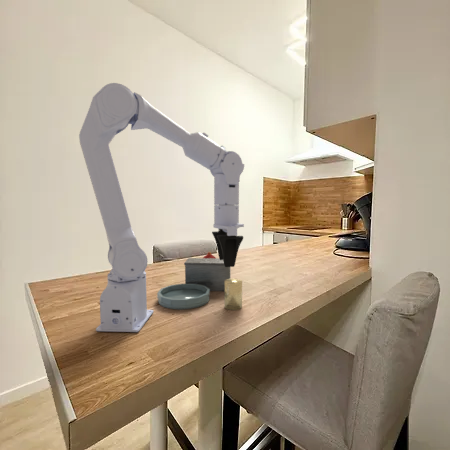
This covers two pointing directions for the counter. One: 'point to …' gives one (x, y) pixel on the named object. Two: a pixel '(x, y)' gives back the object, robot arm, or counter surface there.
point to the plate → (183, 296)
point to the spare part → (233, 294)
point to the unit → (207, 272)
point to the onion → (209, 255)
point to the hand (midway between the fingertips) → (226, 262)
